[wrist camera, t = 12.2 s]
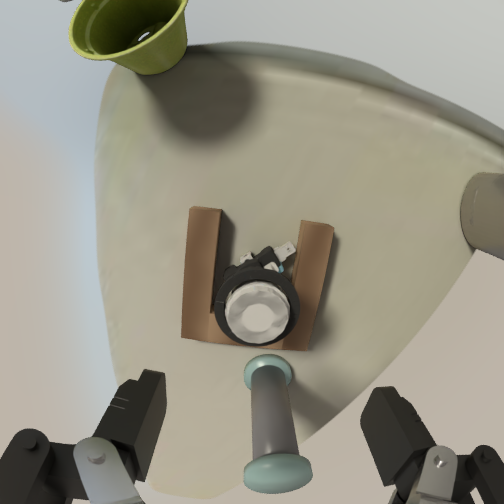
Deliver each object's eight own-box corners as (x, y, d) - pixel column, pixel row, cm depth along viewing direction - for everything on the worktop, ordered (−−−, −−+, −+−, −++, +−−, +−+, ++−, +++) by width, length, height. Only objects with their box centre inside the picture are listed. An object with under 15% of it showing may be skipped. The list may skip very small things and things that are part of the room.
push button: (276, 219, 25) (294, 244, 16) (306, 267, 26) (337, 317, 17) (213, 258, 26) (194, 305, 16) (245, 304, 27) (244, 367, 18)
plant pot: (96, 58, 21) (51, 27, 12) (166, -2, 19) (143, -49, 11) (148, 110, 23) (106, 83, 14) (225, 44, 21) (218, -7, 13)
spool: (294, 355, 29) (321, 462, 15) (285, 390, 30) (302, 492, 16) (247, 352, 29) (248, 463, 15) (241, 387, 30) (240, 492, 16)
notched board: (328, 224, 25) (334, 227, 23) (303, 340, 28) (306, 351, 26) (193, 206, 25) (189, 208, 23) (185, 327, 28) (181, 337, 26)
